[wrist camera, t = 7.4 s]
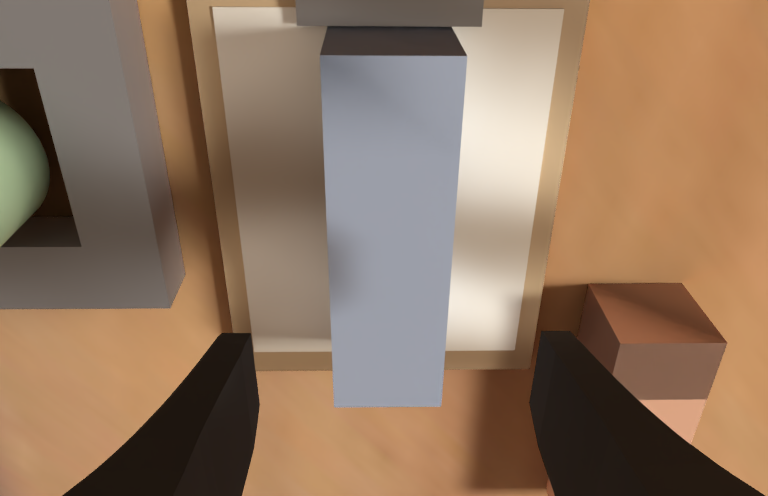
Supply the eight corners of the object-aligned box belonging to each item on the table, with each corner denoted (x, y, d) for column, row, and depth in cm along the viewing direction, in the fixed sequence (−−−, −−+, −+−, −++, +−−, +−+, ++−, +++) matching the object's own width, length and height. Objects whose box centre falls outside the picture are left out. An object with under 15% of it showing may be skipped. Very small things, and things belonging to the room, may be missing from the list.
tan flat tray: (526, 360, 25) (532, 378, 24) (240, 362, 24) (235, 380, 23) (589, -34, 17) (601, -29, 17) (186, -37, 17) (176, -32, 16)
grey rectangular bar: (432, 339, 23) (441, 406, 20) (338, 339, 23) (334, 407, 20) (451, 25, 18) (467, 55, 15) (328, 24, 18) (319, 55, 15)
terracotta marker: (621, 487, 29) (650, 557, 26) (545, 488, 28) (566, 558, 26) (681, 282, 23) (727, 342, 20) (588, 283, 23) (620, 343, 20)
